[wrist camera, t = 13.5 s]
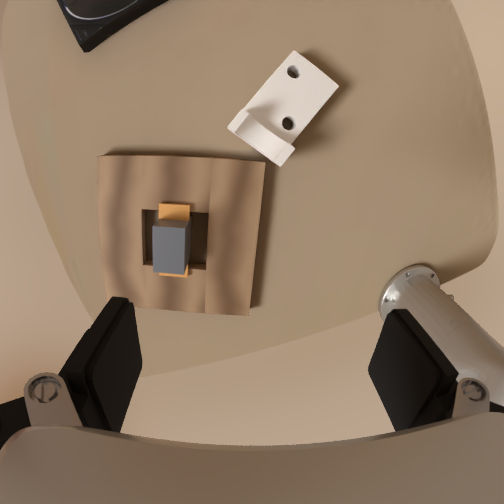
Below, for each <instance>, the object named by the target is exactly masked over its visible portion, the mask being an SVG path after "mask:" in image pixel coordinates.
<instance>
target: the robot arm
mask: <svg viewBox="0 0 504 504" xmlns="http://www.w3.org/2000/svg"><path fill="white" fill-rule="evenodd" d="M453 300H454V297H453V295H447V294H446V293H445V292H443V291H442V290H441V289H440V281H439V278H438V276H437V274H436V273H435V272H434V271H433V270H432V269H430V268H429V267H427V266H424V265H413V266H410V267H407V268H405V269H403V270H402V271H400V272H399V273H397V274H396V275H395V276H394V277H393V278H392V279H391V280H390V281H389V283H388V284H387V285H386V287H385V289H384V291H383V293H382V295H381V298H380V303H379V312H380V316H381V318H382V320H383V321H384V325H383V328H382V331H381V334H380V337H379V340H378V342H377V345H376V348H375V351H374V353H373V356H372V358H371V361H370V364H369V367H368V372H369V375H370V377H371V379H372V382H373V384H374V386H375V388H376V390H377V392H378V394H379V396H380V398H381V401H382V403H383V405H384V407H385V409H386V411H387V413H388V416H389V418H390V420H391V422H392V425H393V427H394V429H395V431H396V432H391V433H386V434H381V435H375V436H369V437H363V438H357V439H350V440H341V441H333V442H324V443H313V444H298V445H276V446H236V445H235V446H233V445H213V444H198V443H187V442H178V441H170V440H162V439H154V438H147V437H141V436H134V435H129V434H122V433H120V430H121V427H122V424H123V421H124V418H125V415H126V412H127V409H128V406H129V403H130V400H131V397H132V394H133V391H134V389H135V385H136V383H137V380H138V377H139V374H140V372H141V369H142V356H141V350H140V344H139V338H138V331H137V325H136V317H135V310H134V304H133V303H132V302H129V299H128V298H125V297H116V296H112V297H111V299H110V300H109V301H108V303H107V304H106V306H105V307H104V308H103V310H102V311H101V313H100V314H99V316H98V317H97V319H96V320H95V321H94V323H93V324H92V326H91V328H90V329H88V330H87V331H86V332H85V334H84V335H83V337H82V338H81V340H80V341H79V343H78V344H77V346H76V347H75V349H74V350H73V352H72V353H71V355H70V356H69V358H68V360H67V361H66V363H65V365H64V366H63V368H62V369H61V371H60V372H59V374H58V375H57V374H54V373H48V372H46V373H40V374H38V375H35V376H34V377H32V378H31V379H29V381H28V382H27V383H26V385H25V387H24V397H21V398H19V399H15V400H12V401H9V402H6V403H3V404H0V504H504V347H502V346H501V345H500V344H499V343H498V342H497V341H495V340H494V339H493V338H492V337H491V336H490V335H489V334H488V333H487V332H486V331H485V330H484V329H483V328H482V327H481V326H480V325H479V324H478V323H477V322H476V321H475V320H473V318H472V317H470V316H469V315H468V314H467V313H466V312H465V311H464V310H463V309H462V308H461V307H460V306H459V305H457V303H456V302H455V301H453Z"/></svg>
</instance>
